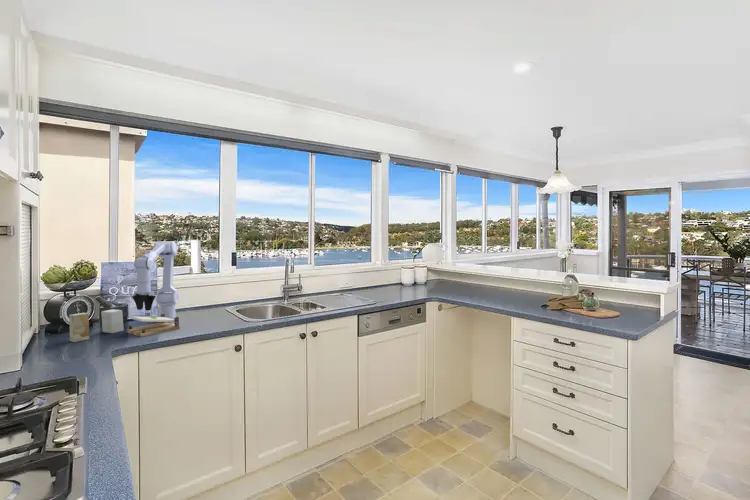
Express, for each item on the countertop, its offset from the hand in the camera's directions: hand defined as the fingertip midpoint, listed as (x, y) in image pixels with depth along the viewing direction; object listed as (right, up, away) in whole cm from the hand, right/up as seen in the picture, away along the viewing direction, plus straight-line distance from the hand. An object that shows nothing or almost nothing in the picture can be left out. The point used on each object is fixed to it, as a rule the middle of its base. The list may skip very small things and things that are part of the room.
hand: (144, 309), depth 185 cm
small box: (-18, -12, +4) cm, 22 cm away
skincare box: (-23, -12, -11) cm, 28 cm away
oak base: (+2, -11, +4) cm, 12 cm away
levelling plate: (+2, -6, +4) cm, 8 cm away
